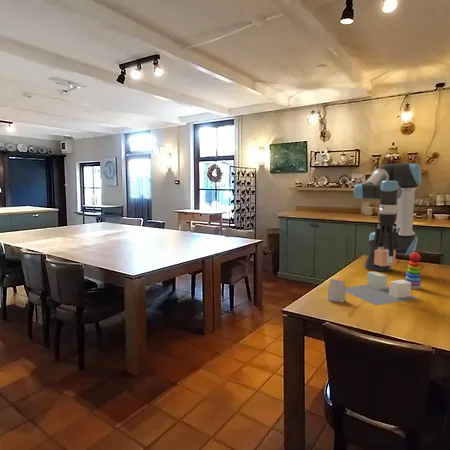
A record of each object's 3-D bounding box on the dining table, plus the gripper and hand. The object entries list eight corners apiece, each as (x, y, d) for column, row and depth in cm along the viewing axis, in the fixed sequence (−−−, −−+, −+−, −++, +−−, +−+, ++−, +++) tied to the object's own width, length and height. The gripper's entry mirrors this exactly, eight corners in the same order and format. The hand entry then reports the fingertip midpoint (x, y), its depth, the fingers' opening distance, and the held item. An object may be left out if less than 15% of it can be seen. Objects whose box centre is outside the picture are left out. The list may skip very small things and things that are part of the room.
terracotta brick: (381, 266, 172) (382, 251, 171) (373, 263, 177) (374, 249, 176) (394, 265, 175) (395, 250, 174) (387, 262, 179) (387, 248, 178)
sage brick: (367, 285, 192) (367, 272, 191) (374, 284, 194) (375, 271, 193) (378, 289, 184) (379, 276, 183) (386, 288, 186) (386, 275, 185)
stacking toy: (401, 287, 190) (404, 252, 187) (406, 284, 195) (408, 249, 193) (418, 290, 184) (420, 254, 182) (422, 287, 190) (425, 252, 187)
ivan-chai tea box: (341, 303, 166) (342, 282, 164) (327, 300, 170) (328, 279, 169) (345, 301, 169) (346, 280, 167) (331, 298, 173) (332, 277, 172)
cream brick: (397, 298, 171) (398, 284, 170) (389, 295, 176) (389, 281, 175) (410, 296, 174) (411, 282, 173) (401, 293, 179) (402, 279, 178)
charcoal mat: (338, 289, 187) (338, 288, 187) (378, 283, 196) (378, 283, 196) (375, 306, 163) (375, 305, 162) (419, 299, 172) (419, 298, 172)
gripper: (367, 211, 180) (365, 258, 183) (396, 215, 163) (392, 266, 166) (380, 211, 182) (377, 256, 185) (409, 215, 165) (405, 265, 168)
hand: (384, 261), depth 176 cm, fingers closed on terracotta brick, 5 cm apart
